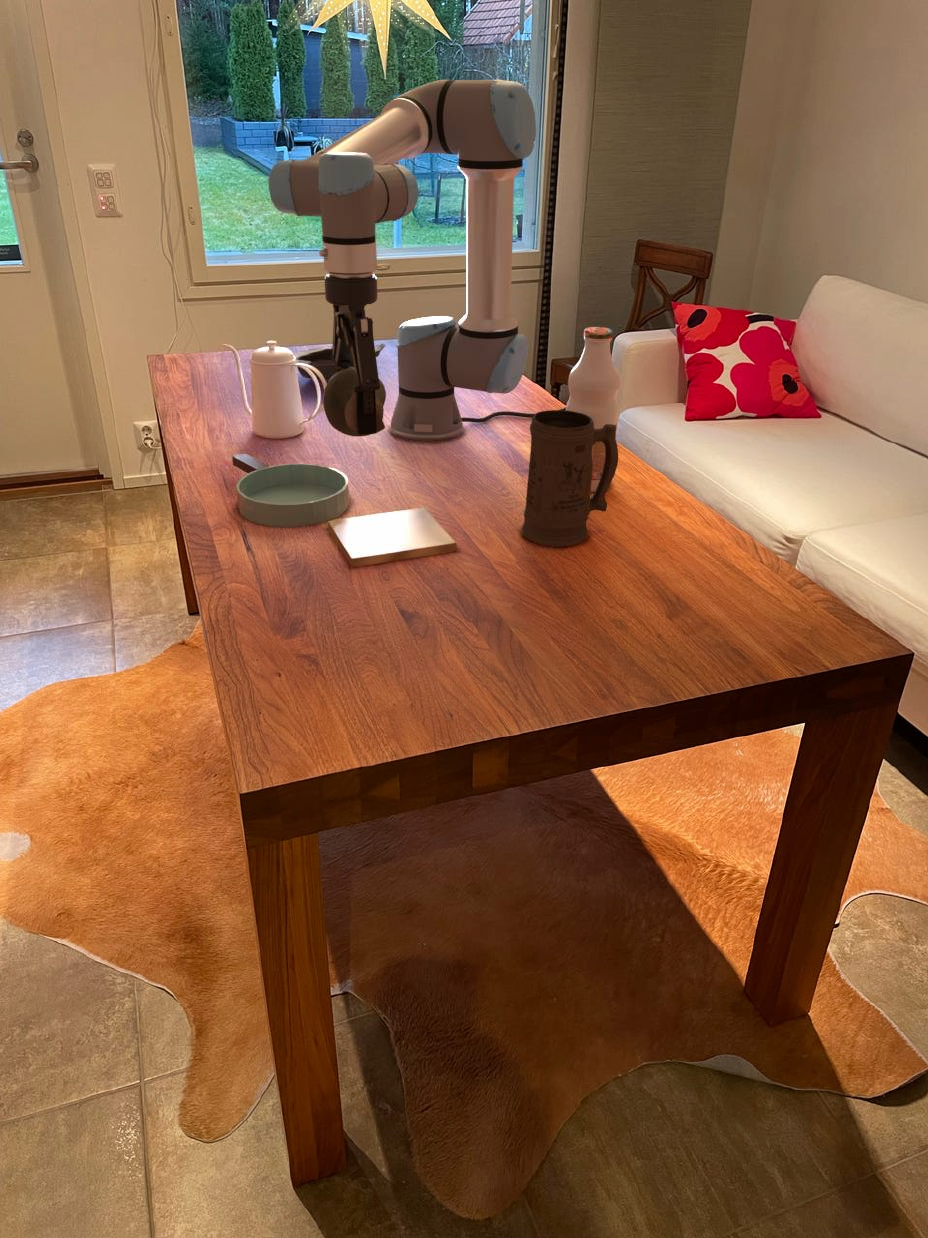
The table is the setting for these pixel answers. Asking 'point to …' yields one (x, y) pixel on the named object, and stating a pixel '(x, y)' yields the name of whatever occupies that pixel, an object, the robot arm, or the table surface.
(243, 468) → the pan handle
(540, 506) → the beer stein
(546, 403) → the table surface
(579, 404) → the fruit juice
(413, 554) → the cutting board
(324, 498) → the pan
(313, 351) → the stone bowl
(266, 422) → the coffeepot
